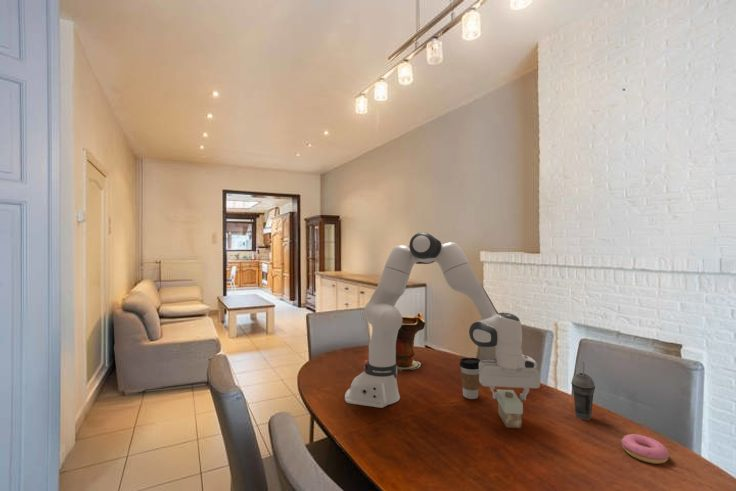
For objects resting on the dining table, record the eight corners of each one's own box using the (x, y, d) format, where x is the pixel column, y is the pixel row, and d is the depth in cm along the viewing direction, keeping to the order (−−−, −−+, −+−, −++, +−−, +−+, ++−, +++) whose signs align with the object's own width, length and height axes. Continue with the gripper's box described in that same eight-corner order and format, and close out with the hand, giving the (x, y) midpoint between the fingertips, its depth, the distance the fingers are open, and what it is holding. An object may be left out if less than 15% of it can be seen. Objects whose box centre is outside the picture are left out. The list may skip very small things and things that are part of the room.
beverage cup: (592, 414, 125) (591, 359, 125) (598, 423, 118) (597, 365, 118) (569, 411, 127) (568, 357, 128) (574, 420, 121) (573, 363, 121)
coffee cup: (482, 401, 136) (482, 363, 136) (460, 399, 138) (460, 362, 138) (479, 392, 144) (479, 356, 144) (459, 390, 146) (458, 355, 146)
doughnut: (679, 463, 97) (679, 449, 97) (648, 469, 94) (647, 454, 94) (641, 442, 107) (641, 429, 107) (612, 446, 105) (612, 433, 105)
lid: (505, 413, 116) (504, 399, 116) (496, 399, 127) (496, 386, 127) (522, 414, 115) (522, 400, 115) (512, 399, 126) (512, 387, 126)
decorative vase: (430, 371, 168) (427, 314, 169) (384, 373, 169) (380, 316, 169) (424, 357, 189) (421, 307, 189) (382, 359, 189) (379, 309, 190)
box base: (506, 427, 116) (505, 412, 116) (498, 413, 126) (498, 399, 126) (521, 428, 116) (521, 413, 116) (512, 413, 126) (512, 400, 126)
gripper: (480, 361, 119) (480, 401, 119) (542, 363, 117) (542, 404, 117) (476, 356, 125) (477, 393, 125) (535, 357, 123) (535, 396, 123)
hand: (509, 398), depth 121 cm, fingers open, 8 cm apart
